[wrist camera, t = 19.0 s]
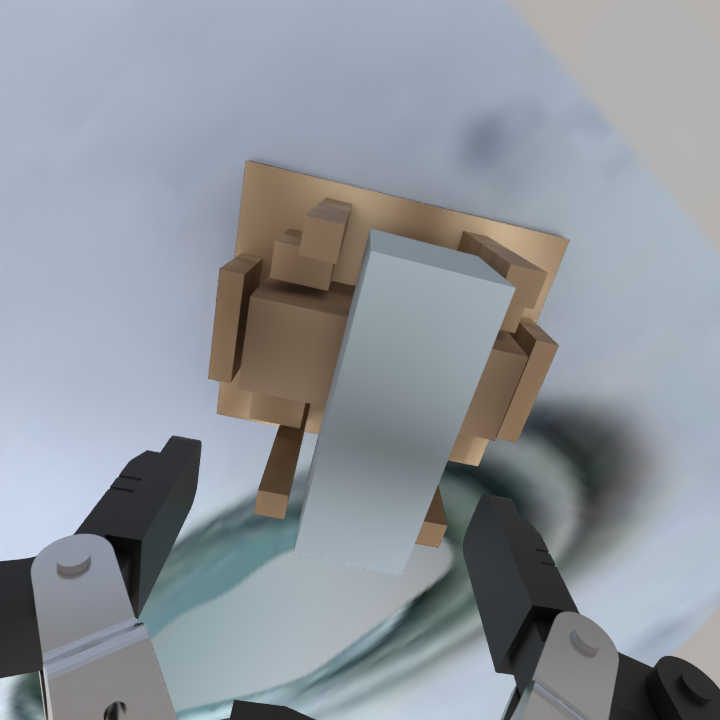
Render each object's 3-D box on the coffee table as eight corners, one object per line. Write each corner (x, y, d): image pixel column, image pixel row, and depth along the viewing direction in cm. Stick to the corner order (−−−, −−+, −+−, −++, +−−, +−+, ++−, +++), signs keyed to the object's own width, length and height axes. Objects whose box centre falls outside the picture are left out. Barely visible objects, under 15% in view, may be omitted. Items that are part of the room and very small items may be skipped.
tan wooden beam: (263, 344, 23) (238, 389, 18) (275, 267, 22) (250, 296, 17) (469, 387, 24) (494, 440, 19) (495, 317, 22) (528, 356, 18)
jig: (221, 404, 26) (159, 510, 18) (251, 161, 21) (180, 159, 13) (474, 455, 27) (518, 575, 19) (561, 236, 22) (670, 277, 14)
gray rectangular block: (308, 475, 20) (293, 555, 16) (370, 228, 16) (371, 250, 12) (394, 493, 21) (401, 576, 16) (477, 256, 16) (516, 287, 12)
